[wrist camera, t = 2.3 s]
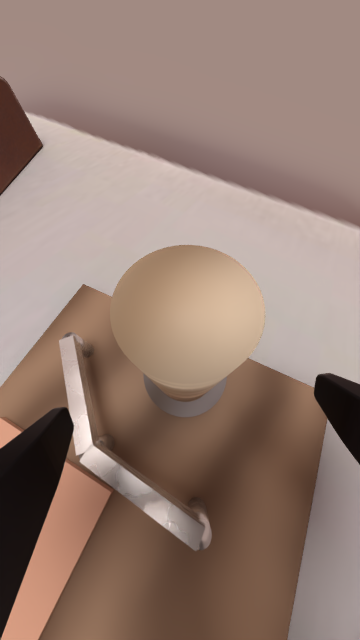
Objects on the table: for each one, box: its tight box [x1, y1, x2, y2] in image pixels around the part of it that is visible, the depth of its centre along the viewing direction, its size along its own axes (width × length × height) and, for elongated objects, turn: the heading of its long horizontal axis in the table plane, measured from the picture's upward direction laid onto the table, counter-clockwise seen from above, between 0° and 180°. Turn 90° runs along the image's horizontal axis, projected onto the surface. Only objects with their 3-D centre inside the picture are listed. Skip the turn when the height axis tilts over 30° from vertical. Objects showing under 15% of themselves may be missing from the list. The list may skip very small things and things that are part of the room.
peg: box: [110, 245, 265, 417], centre depth 11 cm, size 6×6×12 cm
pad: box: [0, 417, 113, 640], centre depth 13 cm, size 10×10×1 cm
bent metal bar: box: [59, 332, 212, 551], centre depth 14 cm, size 15×4×4 cm, turn 41°
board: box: [0, 284, 327, 640], centre depth 15 cm, size 24×23×1 cm
